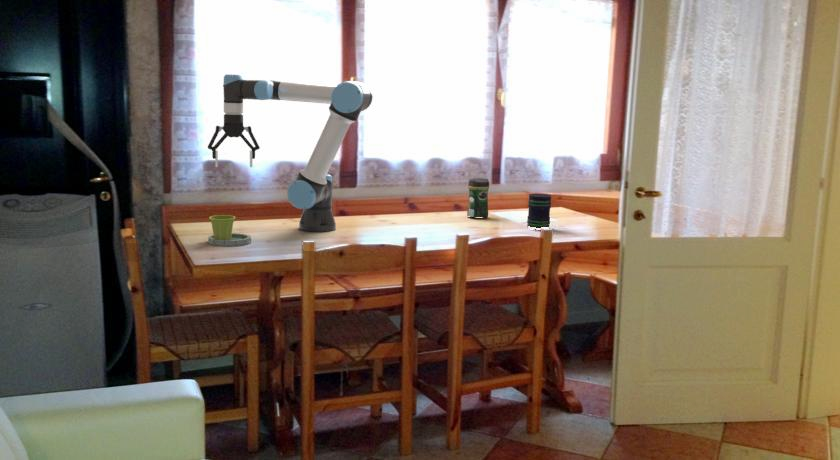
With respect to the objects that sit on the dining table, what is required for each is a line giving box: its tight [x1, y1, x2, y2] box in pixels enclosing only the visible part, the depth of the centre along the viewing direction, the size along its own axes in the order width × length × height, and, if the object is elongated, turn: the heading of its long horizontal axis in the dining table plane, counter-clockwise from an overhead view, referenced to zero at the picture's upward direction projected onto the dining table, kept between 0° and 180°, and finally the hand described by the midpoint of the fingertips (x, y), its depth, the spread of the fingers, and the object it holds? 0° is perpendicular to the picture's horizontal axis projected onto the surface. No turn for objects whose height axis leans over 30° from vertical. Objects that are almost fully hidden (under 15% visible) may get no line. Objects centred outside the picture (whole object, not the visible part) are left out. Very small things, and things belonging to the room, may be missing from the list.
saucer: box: [207, 232, 252, 247], centre depth 304 cm, size 16×16×2 cm
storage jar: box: [526, 193, 552, 228], centre depth 355 cm, size 10×10×15 cm
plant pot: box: [208, 214, 236, 240], centre depth 302 cm, size 9×9×9 cm
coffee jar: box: [466, 177, 490, 218], centre depth 380 cm, size 10×8×19 cm
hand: (233, 167), depth 328 cm, fingers open, 13 cm apart
